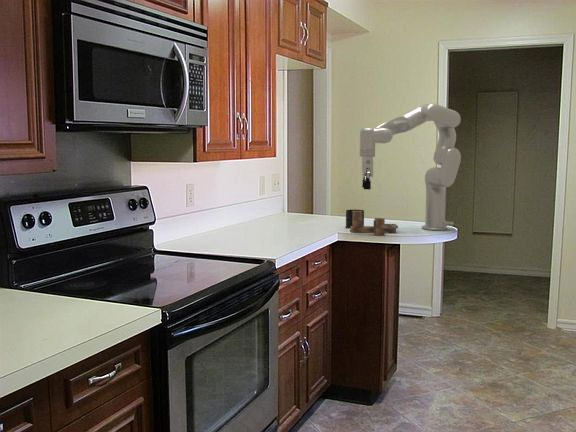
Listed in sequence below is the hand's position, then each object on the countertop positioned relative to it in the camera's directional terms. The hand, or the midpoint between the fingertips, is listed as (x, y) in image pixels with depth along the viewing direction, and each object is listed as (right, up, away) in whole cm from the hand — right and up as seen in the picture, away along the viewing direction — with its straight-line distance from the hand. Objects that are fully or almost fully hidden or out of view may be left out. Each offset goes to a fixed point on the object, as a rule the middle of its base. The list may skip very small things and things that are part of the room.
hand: (366, 188), depth 306 cm
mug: (-3, -20, +20) cm, 28 cm away
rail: (+4, -22, +4) cm, 22 cm away
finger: (+6, -23, -5) cm, 24 cm away
